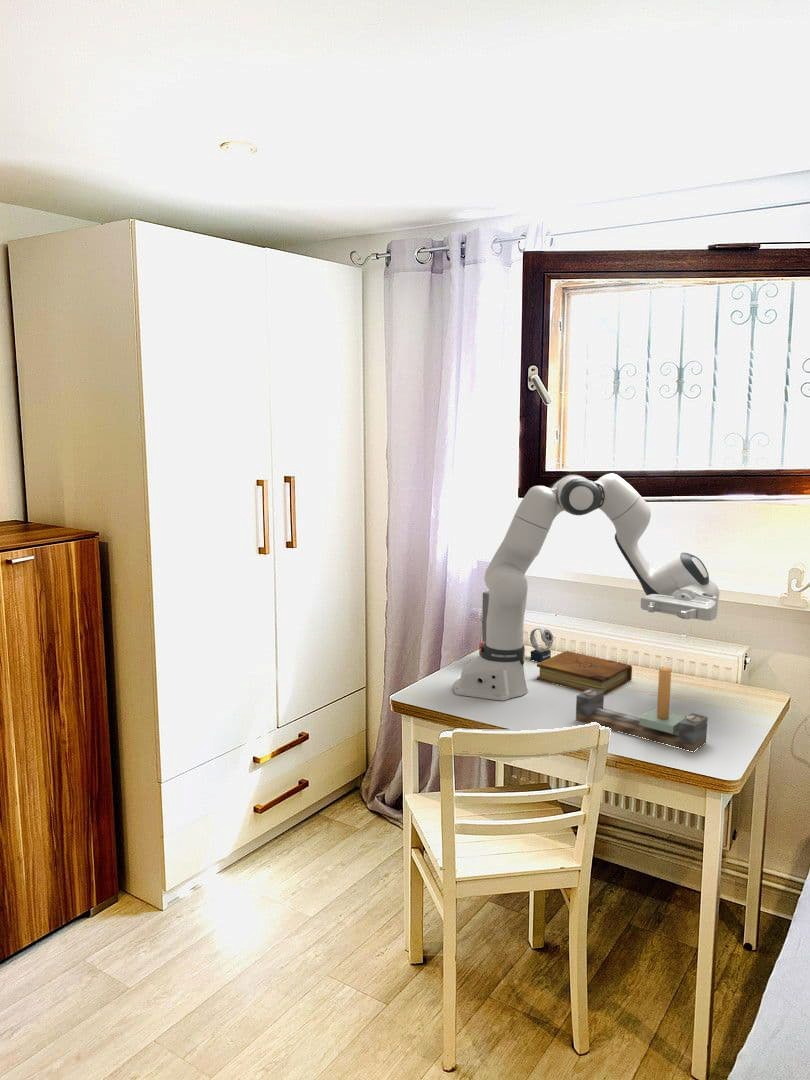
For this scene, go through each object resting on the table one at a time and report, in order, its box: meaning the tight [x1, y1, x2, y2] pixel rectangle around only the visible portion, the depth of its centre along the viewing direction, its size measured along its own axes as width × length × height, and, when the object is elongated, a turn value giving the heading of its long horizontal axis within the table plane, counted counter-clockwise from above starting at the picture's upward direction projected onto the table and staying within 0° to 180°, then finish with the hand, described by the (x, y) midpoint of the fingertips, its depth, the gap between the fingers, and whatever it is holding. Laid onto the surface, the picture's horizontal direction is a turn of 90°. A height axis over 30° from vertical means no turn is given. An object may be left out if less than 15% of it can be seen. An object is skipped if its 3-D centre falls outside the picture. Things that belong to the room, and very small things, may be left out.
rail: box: [575, 688, 709, 753], centre depth 218 cm, size 33×8×8 cm, turn 49°
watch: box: [529, 626, 554, 663], centre depth 278 cm, size 6×8×11 cm
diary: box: [536, 650, 633, 696], centre depth 259 cm, size 23×19×6 cm
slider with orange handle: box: [639, 666, 687, 734], centre depth 213 cm, size 9×8×15 cm
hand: (666, 612), depth 224 cm, fingers open, 8 cm apart
